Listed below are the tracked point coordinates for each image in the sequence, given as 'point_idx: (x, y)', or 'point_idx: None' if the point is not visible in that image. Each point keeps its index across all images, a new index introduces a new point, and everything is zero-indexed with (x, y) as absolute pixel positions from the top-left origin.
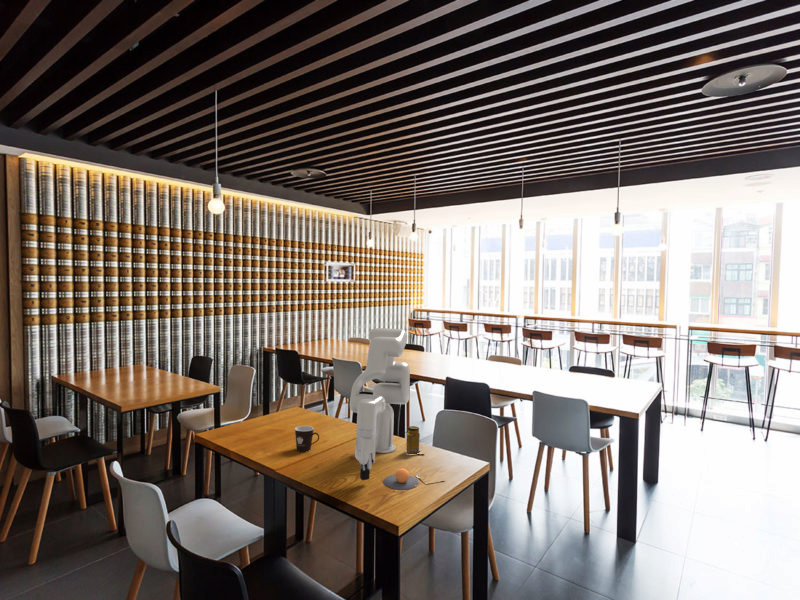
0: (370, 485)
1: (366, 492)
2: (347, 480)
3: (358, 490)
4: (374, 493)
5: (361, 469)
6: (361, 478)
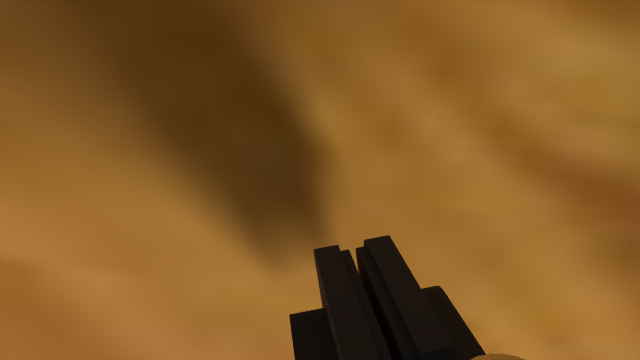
0: None
1: (53, 242)
2: (564, 24)
3: (144, 134)
4: (8, 344)
5: (421, 358)
6: (326, 257)
